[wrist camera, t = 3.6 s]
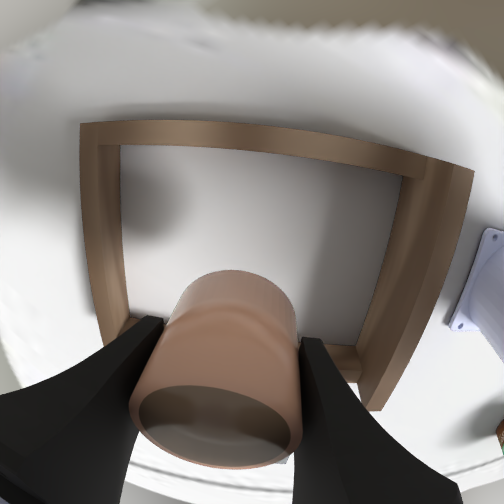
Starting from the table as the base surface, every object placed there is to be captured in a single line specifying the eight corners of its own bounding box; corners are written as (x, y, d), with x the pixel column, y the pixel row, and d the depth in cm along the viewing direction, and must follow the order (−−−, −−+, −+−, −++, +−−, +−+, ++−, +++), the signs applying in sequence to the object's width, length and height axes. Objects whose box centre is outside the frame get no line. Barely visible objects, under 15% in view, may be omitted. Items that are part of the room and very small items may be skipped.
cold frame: (425, 156, 14) (474, 170, 10) (365, 358, 20) (380, 411, 15) (104, 122, 15) (50, 126, 10) (118, 326, 21) (88, 371, 16)
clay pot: (306, 278, 10) (323, 391, 6) (285, 372, 12) (284, 476, 8) (175, 262, 10) (112, 358, 6) (179, 357, 12) (143, 453, 8)
